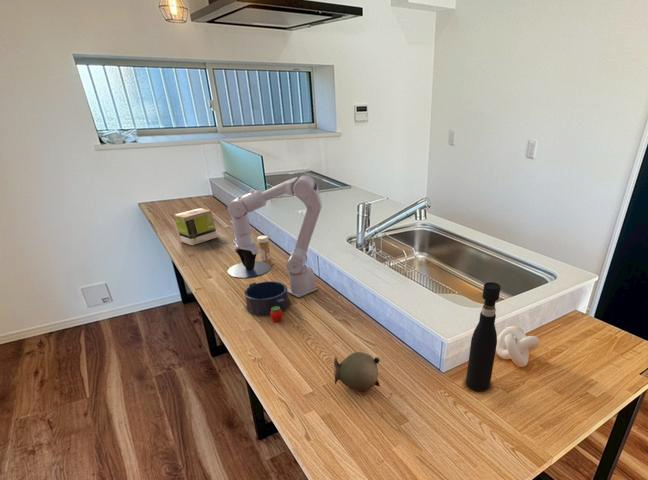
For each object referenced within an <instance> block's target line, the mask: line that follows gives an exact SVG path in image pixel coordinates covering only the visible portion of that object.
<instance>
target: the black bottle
mask: <svg viewBox="0 0 648 480" xmlns="http://www.w3.org/2000/svg"><path fill="white" fill-rule="evenodd" d="M501 287H502V286H501V285H500V284H499V283H497V282H491V281H490V282H489V281H488V282H485V283H484V284H483V289H482V296H481V297H482V299H483V300H484V302H483V306H482V307H481V311H480V313H479V320H478V323H477V324H476V327H474V330H473V333H472V336H471V339H470V348H469V355H468V362H467V368H466V369H467V371H466V376H465V377H466V378H465V385H466V387H467V388H468V389H469V390H471V391H473V392H477V393H482V392H487V391H488V390H489V389H490V387H491V381H492V375H493V369H494V363H495V357H496V353H497V351H496V346H497V339H498V333H497V330H496V317H497V314H496V310H497V308H496V302H497V301H498V300H499V299H500V293H501Z"/></svg>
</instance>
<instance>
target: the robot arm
mask: <svg viewBox="0 0 648 480" xmlns="http://www.w3.org/2000/svg"><path fill="white" fill-rule="evenodd" d="M283 195H288V196H292V197H293V196H295V197H296V198H297V199H299V201H301V202H302V203H303V205H304V206H305V207H306V210H305V214H304V217H303V220H302V224H301V227H300V230H299V232H298V236H297V239H296V243H295V245H294V248H293V250H292V252H291V254H290V257H289V258H288V260H287V261H286V265H285V268H286V270H287V273H288V279H289V286H290V288H287V291H288V294H291V295H292V296H294V297H296V298H300V297H304V296H305V295H309V294H310V293H313V292H315V291H318V288H317V284H316V275H315V271H314V270H313V268H312V267H310V266H307V265H306V263H307V261H308V256H307V254H308V249H309V246H310V244H311V240H312V237H313V234H314V231H315V228H316V225H317V222H318V219H319V216H320V213H321V210H322V207H323V203H322V199H321V195H320V191H319V185H318V183H317V182H316V180H315V178H314V177H313V176H312V175H309V174H303V175H301V176H296V177H293V178H289V179H287V180H285V181H283V182H281V183H279V184H276V185H274V186H273V187H270V188H268V189H266V190H264V191H262V190H259V189H256V190H255V189H251V190H249V193H247V194H245V195H239V196H237V198H235V199H232V200H231V201H230V202H229V203H228V205H227V208H226V209H227V213H228V214H229V215H230V216H231V222H232V227H233V233H234V238H235V239H233V240H232V243H233V245H234V246H233V248H234V252H235V253H236V255H238V257H239V259H240V261H241V263H243V265H244V267H245V262H244V259H245V260H246V263H247V267H248V269H252V268H254V265H255V261H256V257H257V255H258V254H260V251H259V247H257V246H256V245H255V243H254V241H253V235H252V229H251V225H250V219H249V213H252V212H254V211H256V210H259V209H261V208H263V207H265V206H266V205H267V202H268V201H270V200H273V199H275V198H278V197H281V196H283Z"/></svg>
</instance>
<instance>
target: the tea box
mask: <svg viewBox="0 0 648 480" xmlns="http://www.w3.org/2000/svg"><path fill="white" fill-rule="evenodd" d="M173 217H174V221H175V224H176V227H177V232H178V235H179V238H180V241H181V242H182V243H183V244H187V245H190V246H195V245H197V244H201V243H204V242H207V241H210V240H213V239H217V238H218V233H217V229H216V226H215V221H214V217H213V213H212V210H210V209H205V208H202V207H198V208H195V209H191V210H187V211H186V210H185V211H183V212H179V213H174V214H173Z"/></svg>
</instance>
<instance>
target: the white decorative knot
mask: <svg viewBox="0 0 648 480" xmlns="http://www.w3.org/2000/svg"><path fill="white" fill-rule="evenodd" d="M540 343H541V342H540V339H539V337H538V336H536V335H528V336H527V335H526V333H525V331H524V329H522V328H521V327H520V326H517V325H511V326H507V327H505V328H504V329H503V330H501V331H500V333H499V335H497V346H496V355H498V357H499V358H500V359H502V360H511V361H512V362H513V364H514V365H515V366H517V367H519V368H525V367H526V366H527V365H528V363H529V358H530V353H531V352H533V351H534V350H537V348H538V347H539V346H540Z"/></svg>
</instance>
